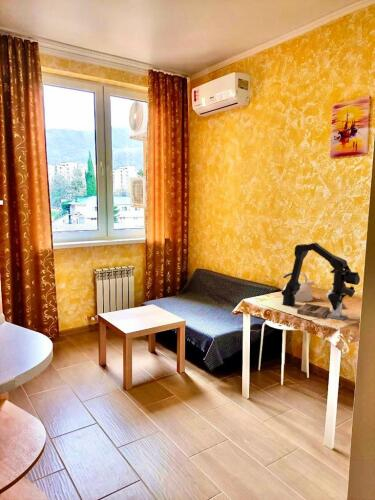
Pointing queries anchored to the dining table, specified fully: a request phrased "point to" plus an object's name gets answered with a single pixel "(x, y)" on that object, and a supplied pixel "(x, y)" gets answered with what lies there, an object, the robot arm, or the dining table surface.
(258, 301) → the dining table surface
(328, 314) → the charcoal mat
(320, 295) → the dining table surface
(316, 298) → the dining table surface
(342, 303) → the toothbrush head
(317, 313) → the walnut rail plate
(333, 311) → the steel nut block
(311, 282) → the kettle
